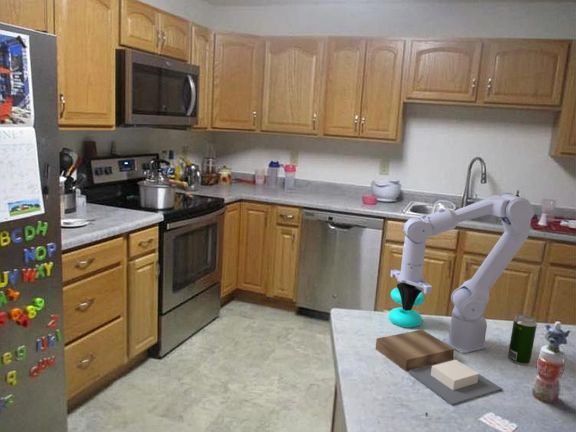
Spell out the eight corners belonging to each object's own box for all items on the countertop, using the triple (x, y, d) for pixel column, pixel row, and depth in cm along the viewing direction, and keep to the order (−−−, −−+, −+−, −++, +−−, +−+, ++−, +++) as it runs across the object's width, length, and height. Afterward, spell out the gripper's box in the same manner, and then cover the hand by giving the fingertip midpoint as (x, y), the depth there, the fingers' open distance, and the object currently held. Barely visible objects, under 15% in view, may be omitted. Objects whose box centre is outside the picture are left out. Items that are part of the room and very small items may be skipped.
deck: (420, 339, 130) (422, 329, 130) (452, 359, 120) (454, 348, 119) (375, 348, 123) (376, 338, 123) (405, 371, 113) (406, 359, 112)
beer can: (522, 368, 118) (530, 324, 115) (503, 358, 122) (510, 316, 120) (534, 363, 121) (541, 320, 118) (514, 353, 125) (521, 312, 123)
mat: (455, 361, 119) (456, 359, 119) (501, 389, 107) (502, 388, 107) (408, 373, 112) (408, 371, 112) (451, 405, 100) (451, 403, 100)
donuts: (393, 296, 135) (389, 284, 145) (390, 327, 137) (386, 314, 147) (428, 298, 134) (421, 287, 144) (424, 330, 136) (417, 316, 146)
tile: (454, 368, 115) (455, 359, 114) (477, 382, 109) (478, 373, 108) (430, 374, 111) (431, 365, 111) (453, 390, 105) (454, 380, 104)
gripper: (383, 256, 129) (379, 301, 131) (420, 272, 116) (413, 322, 119) (403, 254, 132) (398, 298, 135) (440, 269, 119) (434, 318, 122)
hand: (407, 309), depth 127 cm, fingers closed
